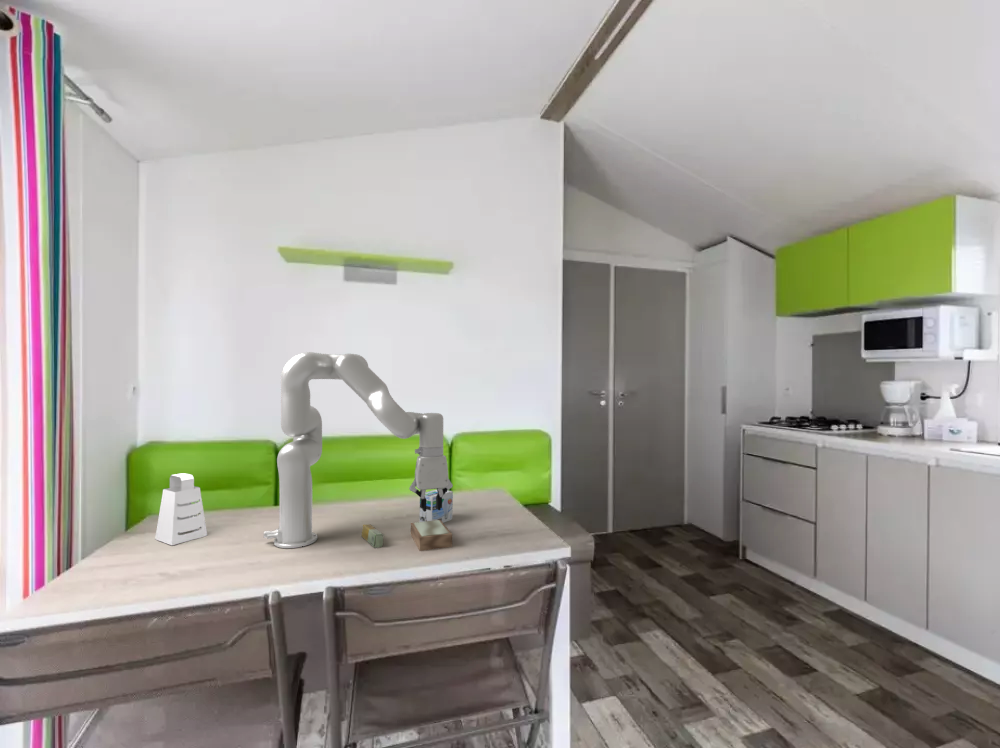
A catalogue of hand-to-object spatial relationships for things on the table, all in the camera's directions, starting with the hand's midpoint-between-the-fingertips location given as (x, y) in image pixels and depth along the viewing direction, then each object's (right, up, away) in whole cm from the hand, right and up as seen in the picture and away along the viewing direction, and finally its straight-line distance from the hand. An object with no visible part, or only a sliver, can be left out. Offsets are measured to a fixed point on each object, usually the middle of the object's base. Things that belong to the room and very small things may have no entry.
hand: (431, 509), depth 152 cm
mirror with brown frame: (0, -10, 0) cm, 10 cm away
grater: (-80, -10, +2) cm, 81 cm away
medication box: (-18, -10, -1) cm, 21 cm away
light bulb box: (-1, -10, +19) cm, 22 cm away
